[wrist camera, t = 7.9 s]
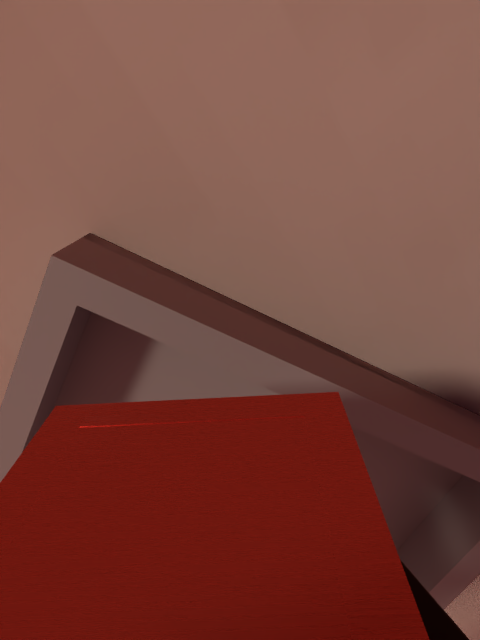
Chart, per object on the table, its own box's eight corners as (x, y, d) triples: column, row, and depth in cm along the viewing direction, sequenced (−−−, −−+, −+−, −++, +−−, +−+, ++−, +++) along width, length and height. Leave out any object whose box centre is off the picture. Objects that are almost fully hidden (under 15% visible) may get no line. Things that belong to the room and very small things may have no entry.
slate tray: (512, 431, 19) (566, 488, 16) (329, 635, 25) (342, 709, 22) (90, 232, 16) (51, 255, 13) (-13, 517, 22) (-58, 582, 19)
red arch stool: (337, 390, 9) (485, 790, 3) (334, 562, 11) (425, 998, 5) (56, 405, 9) (-232, 802, 4) (99, 570, 11) (-45, 994, 6)
